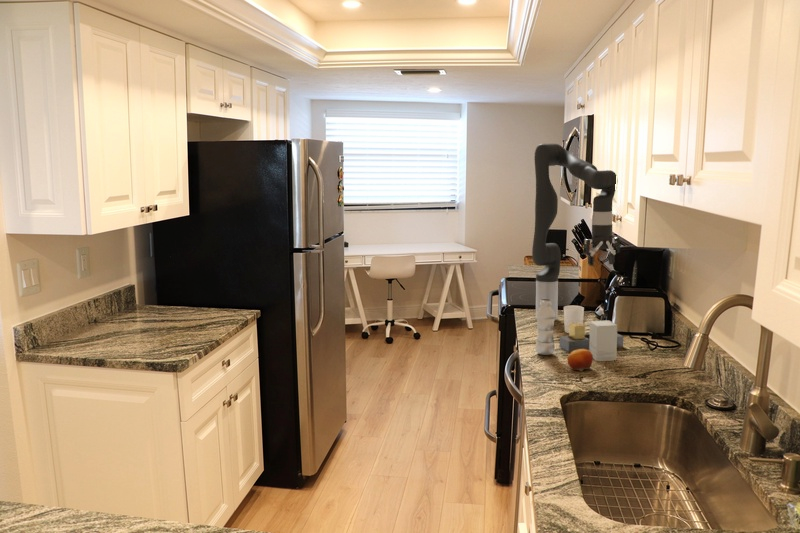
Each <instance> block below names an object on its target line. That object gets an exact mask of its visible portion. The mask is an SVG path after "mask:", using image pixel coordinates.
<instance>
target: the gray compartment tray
mask: <svg viewBox="0 0 800 533" xmlns="http://www.w3.org/2000/svg"><path fill="white" fill-rule="evenodd" d="M589 341H590V333H585V339H583V340H572V339H570V338H569V335H565V336H563V335H562V336H559V348H561V350H564V351H566V352H568V353H571V352H572V351H574V350H577V349H586V350H589ZM617 348H624V335H622V334H619V333H617Z"/></svg>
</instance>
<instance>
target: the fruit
mask: <svg viewBox="0 0 800 533" xmlns="http://www.w3.org/2000/svg"><path fill="white" fill-rule="evenodd" d="M567 364H568V366H569V367H570V369H572V370H574V371H580V372H583V370H592V368H591V366H592V364H593V355H592V354H591V352H590V351H589V350H586V349H577V350H574V351H572V352H569V354H568V355H567Z"/></svg>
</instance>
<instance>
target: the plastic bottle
mask: <svg viewBox="0 0 800 533" xmlns="http://www.w3.org/2000/svg"><path fill="white" fill-rule="evenodd" d="M540 305H541V307H540V308H539V310H538V311H537V314H536V313H535V318H536V317H537V319H536V323H537V334H536V335H537V336H536V342H535V351H536V353H537V354H538V355H541V356H549V355H552V354H553V353H555V341H554V324H555V321H556V320H555V312H554V311H553V309H552V308H551V300H550V299H541V300H540ZM554 320H555V321H554Z"/></svg>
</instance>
